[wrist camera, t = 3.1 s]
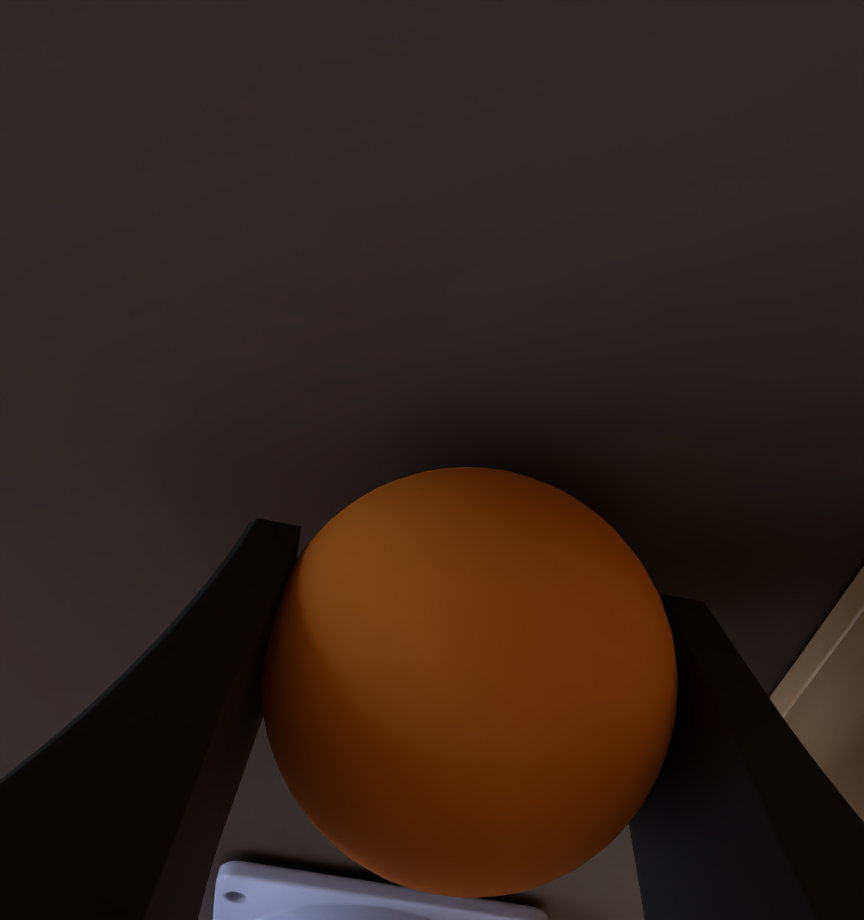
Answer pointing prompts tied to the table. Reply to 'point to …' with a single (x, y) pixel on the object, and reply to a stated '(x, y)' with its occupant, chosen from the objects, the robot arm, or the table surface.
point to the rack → (832, 696)
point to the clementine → (469, 682)
